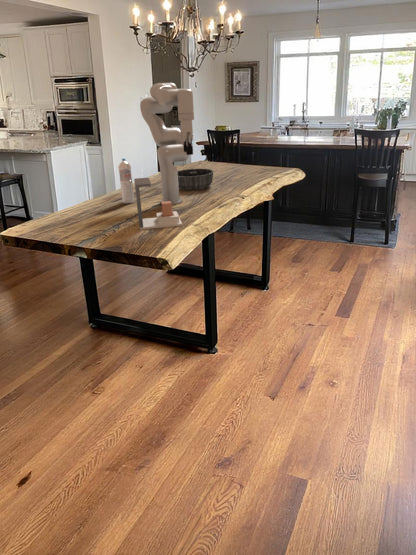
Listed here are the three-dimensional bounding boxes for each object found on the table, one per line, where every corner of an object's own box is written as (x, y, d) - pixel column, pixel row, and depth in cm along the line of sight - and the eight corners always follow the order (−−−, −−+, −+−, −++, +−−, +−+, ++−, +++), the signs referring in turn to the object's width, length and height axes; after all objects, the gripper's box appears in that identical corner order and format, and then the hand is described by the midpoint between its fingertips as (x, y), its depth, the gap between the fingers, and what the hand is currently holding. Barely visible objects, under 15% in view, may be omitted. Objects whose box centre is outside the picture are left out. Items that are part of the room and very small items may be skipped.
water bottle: (123, 204, 264) (118, 160, 254) (122, 202, 270) (116, 158, 260) (135, 203, 266) (130, 159, 256) (133, 200, 272) (129, 157, 262)
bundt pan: (167, 192, 289) (165, 176, 285) (181, 183, 312) (180, 168, 308) (207, 193, 282) (206, 176, 278) (219, 183, 305) (218, 168, 301)
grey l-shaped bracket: (138, 219, 232) (134, 178, 224) (152, 217, 233) (148, 177, 225) (139, 227, 218) (135, 184, 210) (154, 226, 219) (150, 183, 211)
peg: (162, 219, 229) (161, 201, 225) (171, 218, 229) (170, 201, 226) (163, 222, 225) (162, 204, 221) (172, 221, 225) (171, 203, 222)
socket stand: (138, 221, 232) (137, 213, 230) (178, 217, 235) (177, 209, 233) (140, 229, 218) (139, 221, 217) (182, 225, 221) (181, 217, 220)
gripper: (176, 116, 231) (178, 151, 237) (180, 118, 215) (183, 156, 222) (191, 115, 232) (193, 150, 238) (196, 117, 216) (198, 155, 223)
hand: (188, 153), depth 230 cm, fingers open, 9 cm apart
